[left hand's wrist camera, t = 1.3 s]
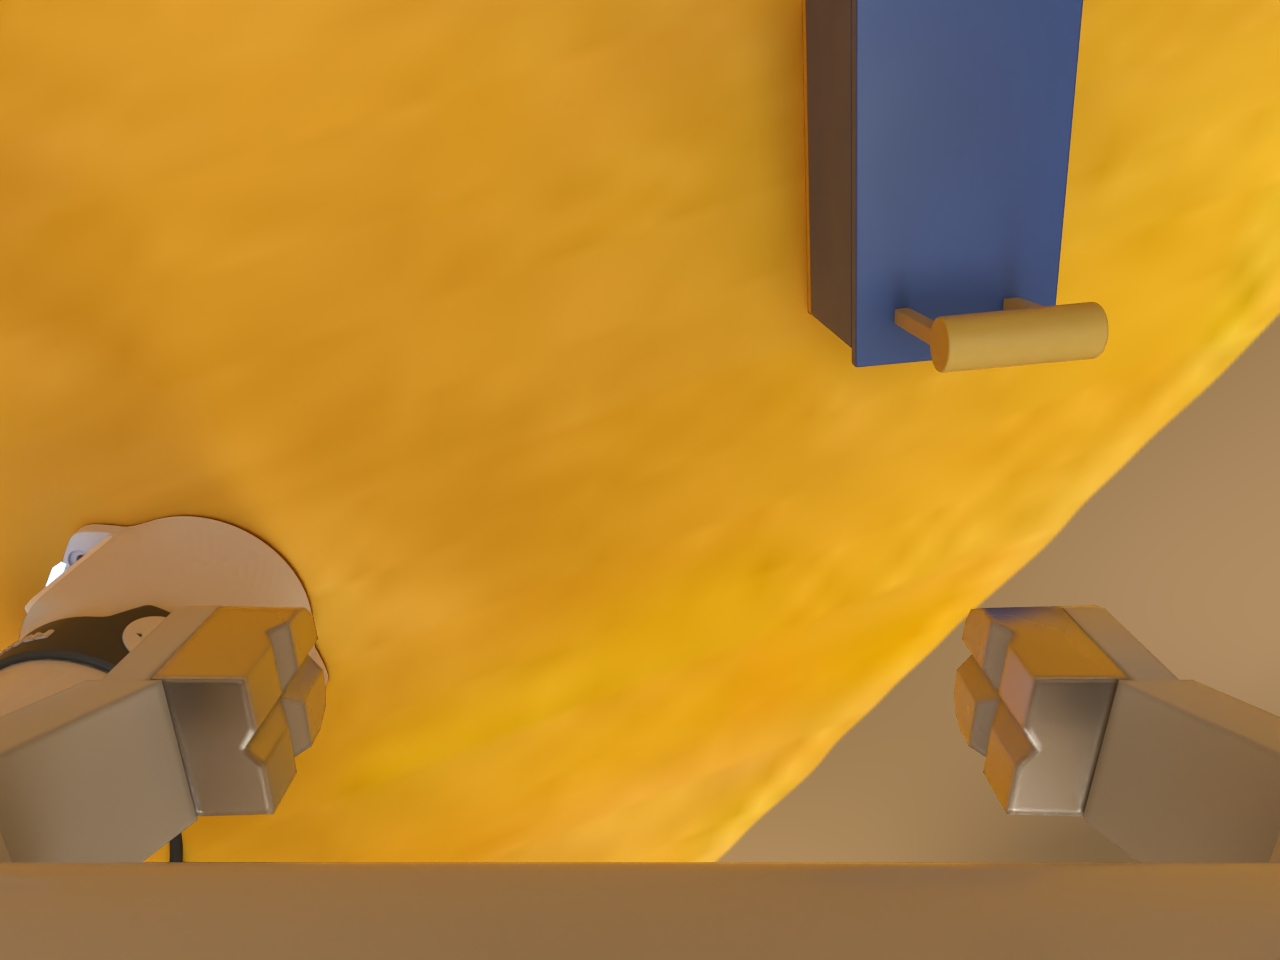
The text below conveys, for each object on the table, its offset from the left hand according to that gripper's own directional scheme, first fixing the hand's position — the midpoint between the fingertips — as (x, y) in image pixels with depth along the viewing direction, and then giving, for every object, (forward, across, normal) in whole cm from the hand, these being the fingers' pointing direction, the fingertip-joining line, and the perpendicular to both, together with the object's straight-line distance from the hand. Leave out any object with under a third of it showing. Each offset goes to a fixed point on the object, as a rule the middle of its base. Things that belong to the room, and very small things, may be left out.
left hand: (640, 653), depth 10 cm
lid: (+30, +14, +5) cm, 34 cm away
